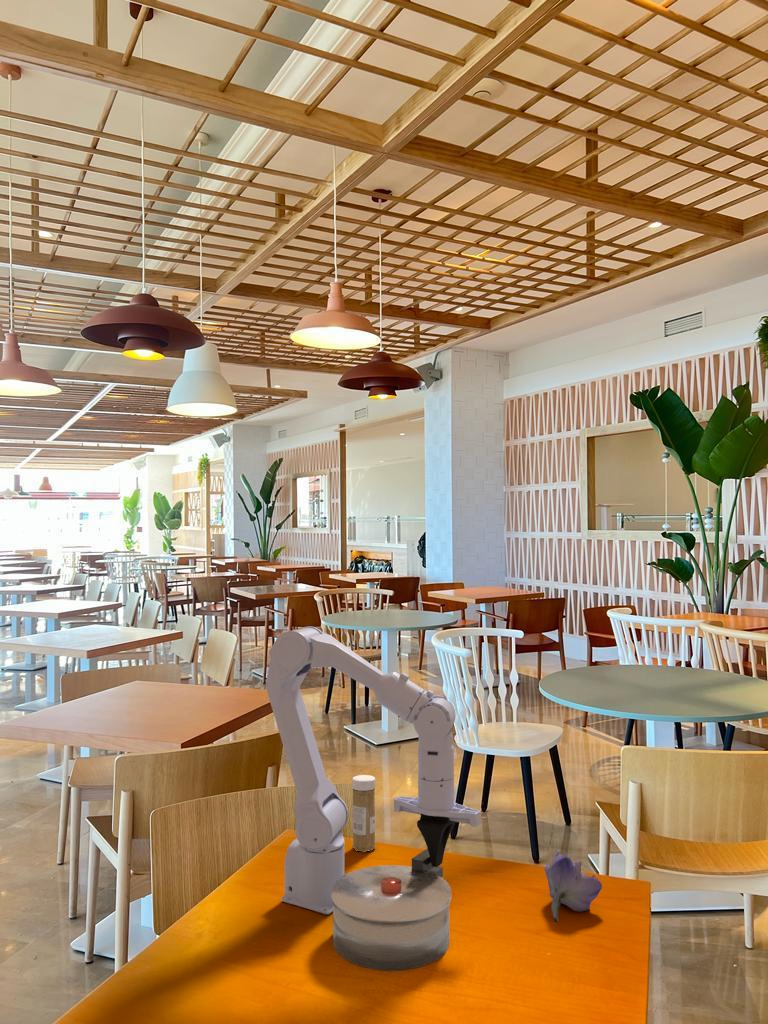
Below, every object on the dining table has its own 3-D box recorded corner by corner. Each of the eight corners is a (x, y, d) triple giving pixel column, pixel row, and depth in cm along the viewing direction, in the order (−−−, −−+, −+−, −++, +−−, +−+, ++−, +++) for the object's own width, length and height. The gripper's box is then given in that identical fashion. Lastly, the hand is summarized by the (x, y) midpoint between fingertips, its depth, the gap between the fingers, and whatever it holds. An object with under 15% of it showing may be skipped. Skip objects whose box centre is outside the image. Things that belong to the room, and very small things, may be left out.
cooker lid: (411, 936, 97) (411, 916, 97) (306, 903, 107) (306, 884, 107) (485, 876, 116) (485, 859, 116) (390, 852, 126) (390, 836, 126)
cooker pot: (414, 984, 97) (414, 936, 98) (309, 949, 106) (309, 905, 107) (484, 912, 117) (484, 873, 117) (391, 888, 126) (391, 852, 126)
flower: (578, 888, 111) (581, 837, 119) (527, 901, 114) (534, 850, 123) (609, 933, 112) (610, 879, 121) (558, 944, 116) (563, 891, 125)
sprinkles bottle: (380, 849, 143) (380, 778, 144) (359, 855, 140) (359, 782, 141) (367, 842, 147) (367, 772, 148) (347, 847, 144) (347, 776, 145)
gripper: (488, 776, 118) (489, 865, 117) (408, 764, 126) (409, 847, 125) (469, 788, 112) (470, 881, 111) (386, 774, 119) (387, 861, 119)
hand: (436, 864), depth 117 cm, fingers closed
